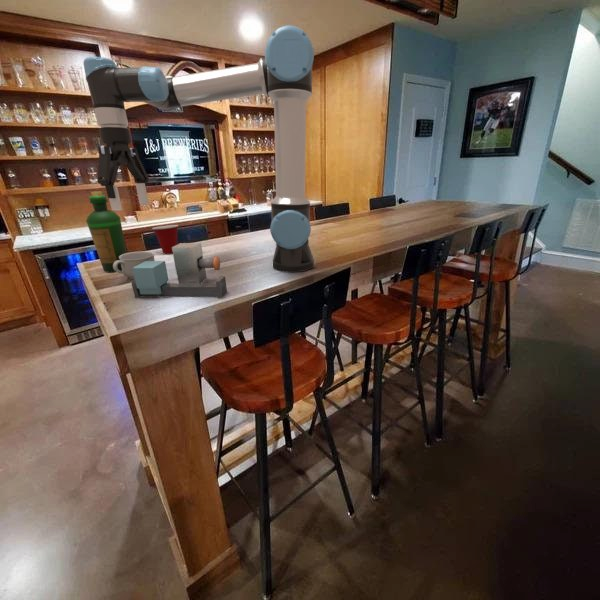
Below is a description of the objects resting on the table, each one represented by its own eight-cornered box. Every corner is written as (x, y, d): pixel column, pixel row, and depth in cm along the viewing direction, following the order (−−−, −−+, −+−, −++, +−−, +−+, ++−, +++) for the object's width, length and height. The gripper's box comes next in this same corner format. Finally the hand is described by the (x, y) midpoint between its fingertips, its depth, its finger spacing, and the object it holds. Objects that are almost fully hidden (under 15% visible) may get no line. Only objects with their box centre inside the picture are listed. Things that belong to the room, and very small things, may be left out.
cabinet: (206, 278, 107) (201, 242, 103) (199, 284, 102) (193, 247, 97) (186, 278, 108) (180, 243, 103) (178, 284, 103) (171, 247, 98)
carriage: (170, 286, 97) (164, 260, 94) (158, 295, 91) (152, 267, 87) (151, 286, 98) (145, 261, 94) (138, 295, 91) (132, 268, 88)
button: (221, 267, 105) (219, 254, 103) (216, 272, 101) (214, 258, 99) (203, 268, 105) (201, 255, 103) (198, 272, 101) (196, 258, 99)
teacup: (149, 270, 118) (144, 249, 115) (164, 275, 112) (159, 253, 109) (109, 280, 109) (103, 257, 106) (123, 286, 102) (117, 262, 99)
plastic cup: (178, 248, 150) (173, 222, 145) (186, 252, 142) (181, 225, 137) (154, 252, 144) (148, 225, 139) (161, 257, 136) (155, 228, 131)
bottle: (98, 269, 121) (76, 192, 111) (128, 263, 128) (110, 190, 117) (104, 275, 114) (80, 193, 103) (135, 269, 120) (116, 191, 109)
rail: (227, 291, 95) (225, 275, 93) (221, 298, 90) (219, 281, 88) (144, 291, 97) (140, 276, 95) (135, 297, 93) (131, 281, 91)
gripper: (128, 132, 99) (143, 203, 108) (65, 122, 77) (90, 213, 85) (151, 131, 99) (164, 202, 107) (94, 121, 76) (116, 213, 84)
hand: (131, 207), depth 96 cm, fingers open, 13 cm apart
